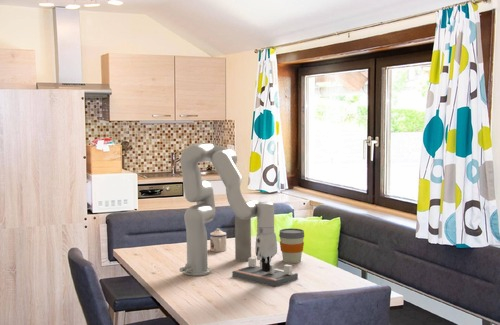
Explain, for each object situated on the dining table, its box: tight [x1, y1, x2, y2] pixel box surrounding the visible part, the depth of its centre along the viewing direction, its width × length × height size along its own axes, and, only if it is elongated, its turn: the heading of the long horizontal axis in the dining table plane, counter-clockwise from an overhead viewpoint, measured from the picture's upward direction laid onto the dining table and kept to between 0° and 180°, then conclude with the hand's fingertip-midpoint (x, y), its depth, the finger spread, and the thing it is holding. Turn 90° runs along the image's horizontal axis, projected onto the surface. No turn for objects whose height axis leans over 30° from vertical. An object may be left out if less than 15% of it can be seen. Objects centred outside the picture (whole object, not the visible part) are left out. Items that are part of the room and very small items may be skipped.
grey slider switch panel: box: [231, 256, 299, 288], centre depth 285 cm, size 16×25×7 cm, turn 49°
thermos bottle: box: [234, 214, 252, 262], centre depth 318 cm, size 8×8×28 cm
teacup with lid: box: [209, 228, 228, 253], centre depth 338 cm, size 12×9×12 cm
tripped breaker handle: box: [266, 263, 275, 274], centre depth 282 cm, size 2×3×4 cm, turn 49°
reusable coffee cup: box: [278, 227, 305, 264], centre depth 316 cm, size 12×13×15 cm
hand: (266, 271), depth 280 cm, fingers closed
